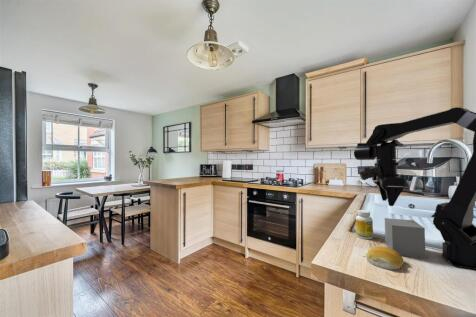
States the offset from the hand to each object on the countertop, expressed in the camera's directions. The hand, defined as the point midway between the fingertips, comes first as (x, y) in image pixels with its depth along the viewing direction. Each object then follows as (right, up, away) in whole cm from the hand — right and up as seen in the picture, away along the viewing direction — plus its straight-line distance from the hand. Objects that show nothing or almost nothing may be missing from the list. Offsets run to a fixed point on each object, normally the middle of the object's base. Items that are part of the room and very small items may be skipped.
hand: (387, 203), depth 71 cm
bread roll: (-12, -14, -15) cm, 24 cm away
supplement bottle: (-6, -13, +3) cm, 15 cm away
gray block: (-2, -13, -9) cm, 16 cm away
